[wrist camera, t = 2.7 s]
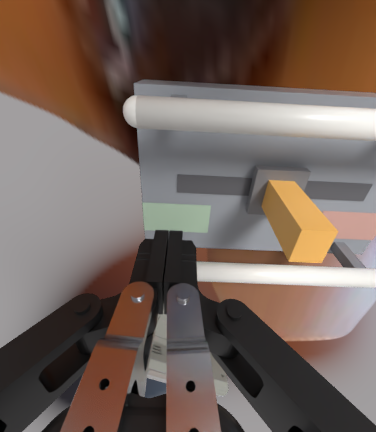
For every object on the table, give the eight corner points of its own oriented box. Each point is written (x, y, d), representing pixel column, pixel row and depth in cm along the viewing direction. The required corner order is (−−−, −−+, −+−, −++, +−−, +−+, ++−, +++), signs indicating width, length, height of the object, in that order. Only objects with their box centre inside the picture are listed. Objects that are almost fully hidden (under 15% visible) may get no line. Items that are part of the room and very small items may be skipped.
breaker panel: (143, 79, 18) (112, 91, 11) (414, 95, 18) (559, 117, 11) (151, 221, 26) (136, 284, 19) (340, 230, 26) (397, 294, 19)
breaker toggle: (255, 165, 17) (287, 216, 12) (306, 168, 18) (364, 220, 12) (245, 208, 20) (268, 270, 14) (290, 211, 20) (332, 272, 14)
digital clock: (114, 293, 33) (87, 376, 25) (155, 263, 30) (141, 348, 21) (189, 335, 40) (189, 413, 31) (230, 316, 36) (243, 396, 28)
